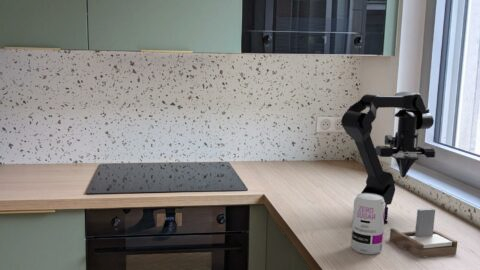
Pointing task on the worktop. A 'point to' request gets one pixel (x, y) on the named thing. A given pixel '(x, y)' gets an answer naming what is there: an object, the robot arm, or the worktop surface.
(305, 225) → the worktop surface
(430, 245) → the lid
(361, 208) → the supplement can
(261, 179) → the worktop surface
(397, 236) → the board
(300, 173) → the worktop surface
